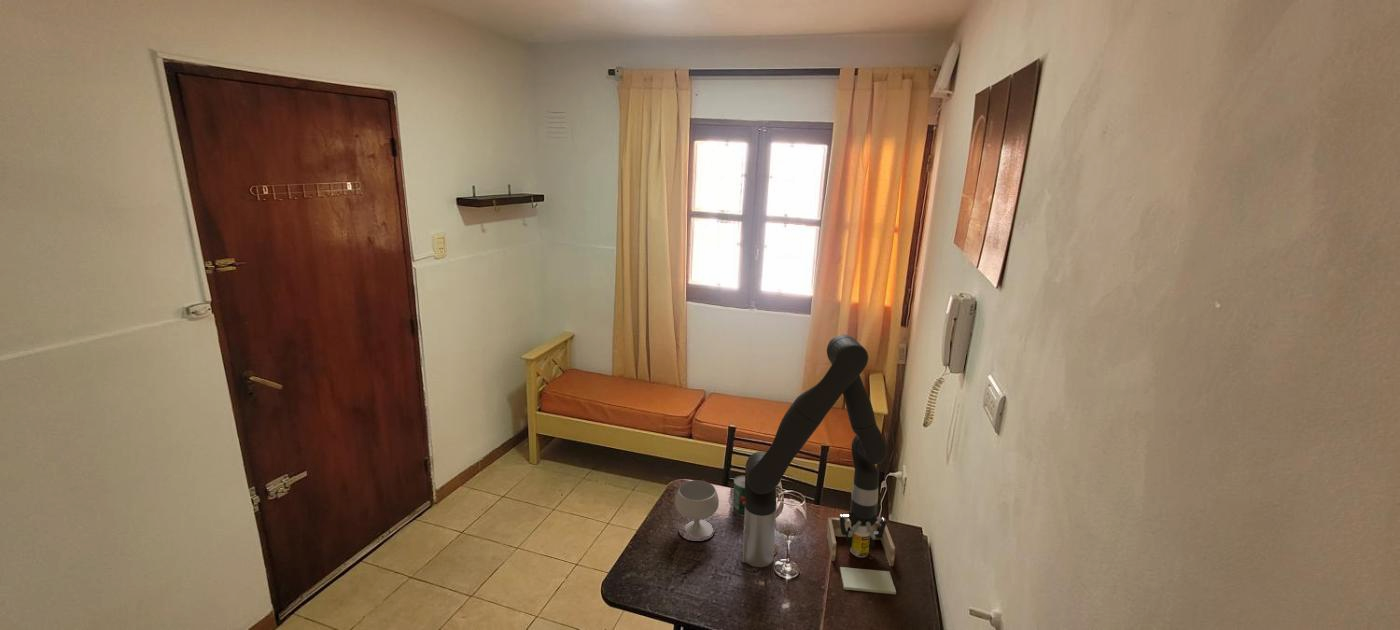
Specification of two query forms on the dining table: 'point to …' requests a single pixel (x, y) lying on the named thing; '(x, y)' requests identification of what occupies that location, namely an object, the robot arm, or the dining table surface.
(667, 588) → the dining table surface
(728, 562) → the dining table surface
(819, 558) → the dining table surface
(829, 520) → the cubby
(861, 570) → the mat
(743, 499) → the canned tomato
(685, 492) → the chalice
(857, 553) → the supplement bottle
